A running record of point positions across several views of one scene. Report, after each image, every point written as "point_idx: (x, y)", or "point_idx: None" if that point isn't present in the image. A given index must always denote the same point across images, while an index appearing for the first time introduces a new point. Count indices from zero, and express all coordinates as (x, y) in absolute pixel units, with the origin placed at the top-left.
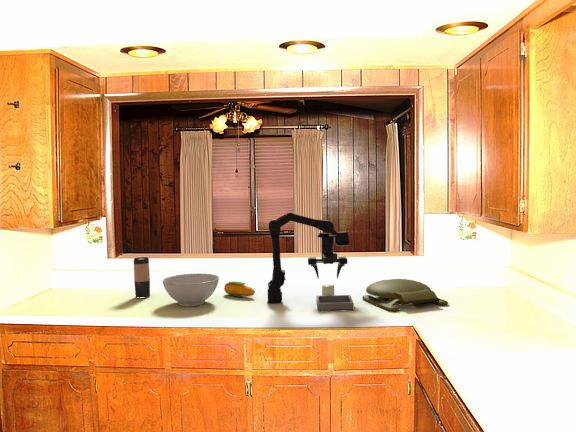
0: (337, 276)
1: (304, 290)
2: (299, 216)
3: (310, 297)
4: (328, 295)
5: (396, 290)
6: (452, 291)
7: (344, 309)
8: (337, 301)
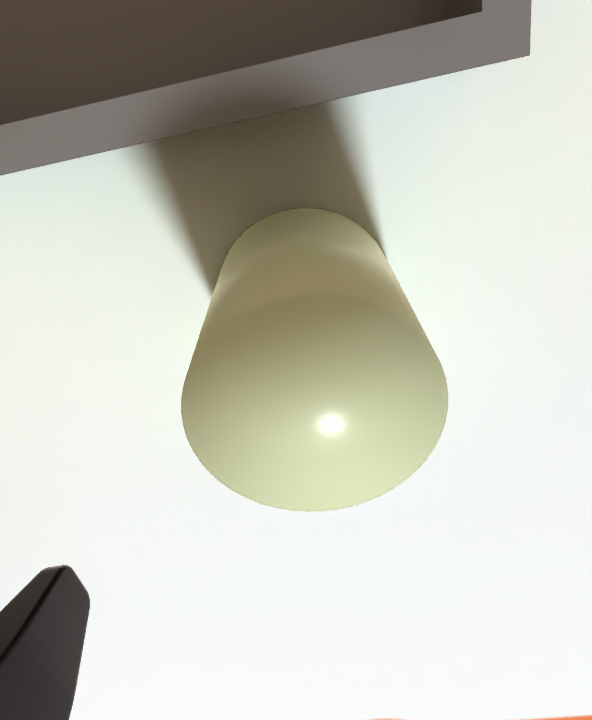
0: (22, 612)
1: (582, 632)
2: None
3: (547, 396)
4: (269, 111)
5: None
6: None
7: None
8: (112, 90)
